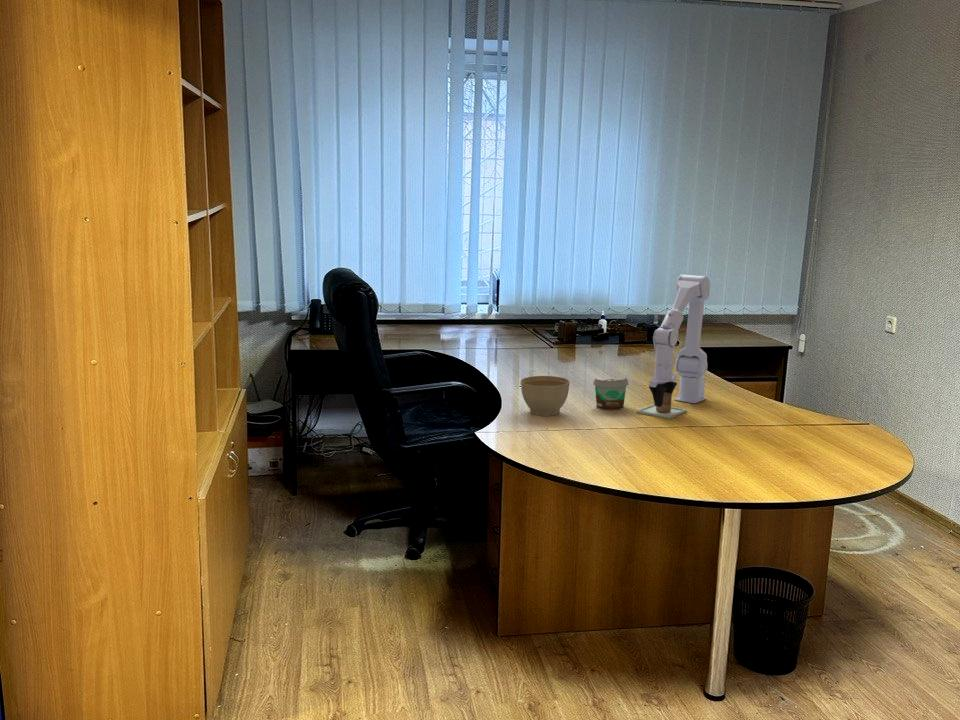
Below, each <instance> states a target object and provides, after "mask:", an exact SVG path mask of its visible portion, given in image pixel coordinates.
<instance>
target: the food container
mask: <svg viewBox="0 0 960 720" xmlns="http://www.w3.org/2000/svg"><path fill="white" fill-rule="evenodd" d="M592 384H593V385H594V386H595V387H594V388H595V402H596V403H595V405H596V408H598V409H601V410H607V411H616V410H617V411H619V410H623V409H624V407H625V397H626V390H627V387H628V385H629V380H628V377H627V376H625V377H624V379H612V378H611V379H610V378H609V379H603V380H602V379H599V378H594V380H593V383H592Z"/></svg>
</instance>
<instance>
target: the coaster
mask: <svg viewBox="0 0 960 720" xmlns="http://www.w3.org/2000/svg"><path fill="white" fill-rule="evenodd" d="M687 411H688V410H687V409H686V408H681V407H675V406H671V411H670V412H658V411H656V406H655V404H654V403H653V404H650V405H646V406H644V407H641V408H639V409H636V414H639V415H640V414H641V415H646V416H650V417H656V418H662V419H668V420H671V419H673V418H675V417H678V416H681V415H683V414H685V413H687Z"/></svg>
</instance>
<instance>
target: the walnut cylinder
mask: <svg viewBox="0 0 960 720" xmlns="http://www.w3.org/2000/svg"><path fill="white" fill-rule="evenodd" d="M672 395H673V393H672V394H670V393H664V396H663V402H662V406H661V407H658V406H656V411H658V412H670V411H671V407H672V398H673V397H672Z"/></svg>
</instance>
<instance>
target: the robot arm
mask: <svg viewBox="0 0 960 720" xmlns="http://www.w3.org/2000/svg"><path fill="white" fill-rule="evenodd" d="M675 285H676V297H675V299H674V302H673V305H672V307H671V309H669V310H667V312H666V314H665V315H664V317H663V320H662V322H661V325H660V326H659V327H658V328H657V329H655V330H654V332H653V336H652V342H653V347H654V348H653V350H654V351H655V356H654V357H655V358H654V362H655V363H654V377H652V379H651V380H649V385H648V389H649V390H650V392H651V395H652V398H653V399H652V400H653V404H655V406H658V407H661V406H662V402H663V396H664V393H670V394H672V395H673V393H674V390H675V388H676V387H677V384H678V383H677V382H676V381H677V374H673V371H674V370H673V366H674V367H675V370H676V372H677V373H678V376H679V389H678V390H679V393H678V396H677V397H675V398H674V399H673V400H674V401H677V402H678V401H679V402H684V403H689V404H697V403H700V402H702V401H704V400H707V397H705V391H706V390H705V389H706V380H705V378H704V375H705V374H706V372H707V371H708V355H707V353H706V351H704V350H703V349H702V348H701V339H702V338H701V336H702V328H703V327H702V326H703V319H704V317H703V316H704V306H705V301H707V300H709V297H710V289H711V282H710V279H709V277H708V276H707V275H693V274H692V275H691V274H682V273H681V274H680V275H679V276H678V277H677V280H676V283H675ZM687 306H688V314H687V323H686V324H687V326H686V335H685V342H684V343H685V346H684V347H683V348H682V349H681V350H679V351H678V352H677V356H676V360H675V363H674V350H675V349H674V347H675V345H676V344H677V342H678V337H679V332H680V331H679V329H680V327H681V326H682V325H681V324H682V323H683V320H684V315H683V312H684V311H685V309H686V307H687ZM674 364H675V365H674Z"/></svg>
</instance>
